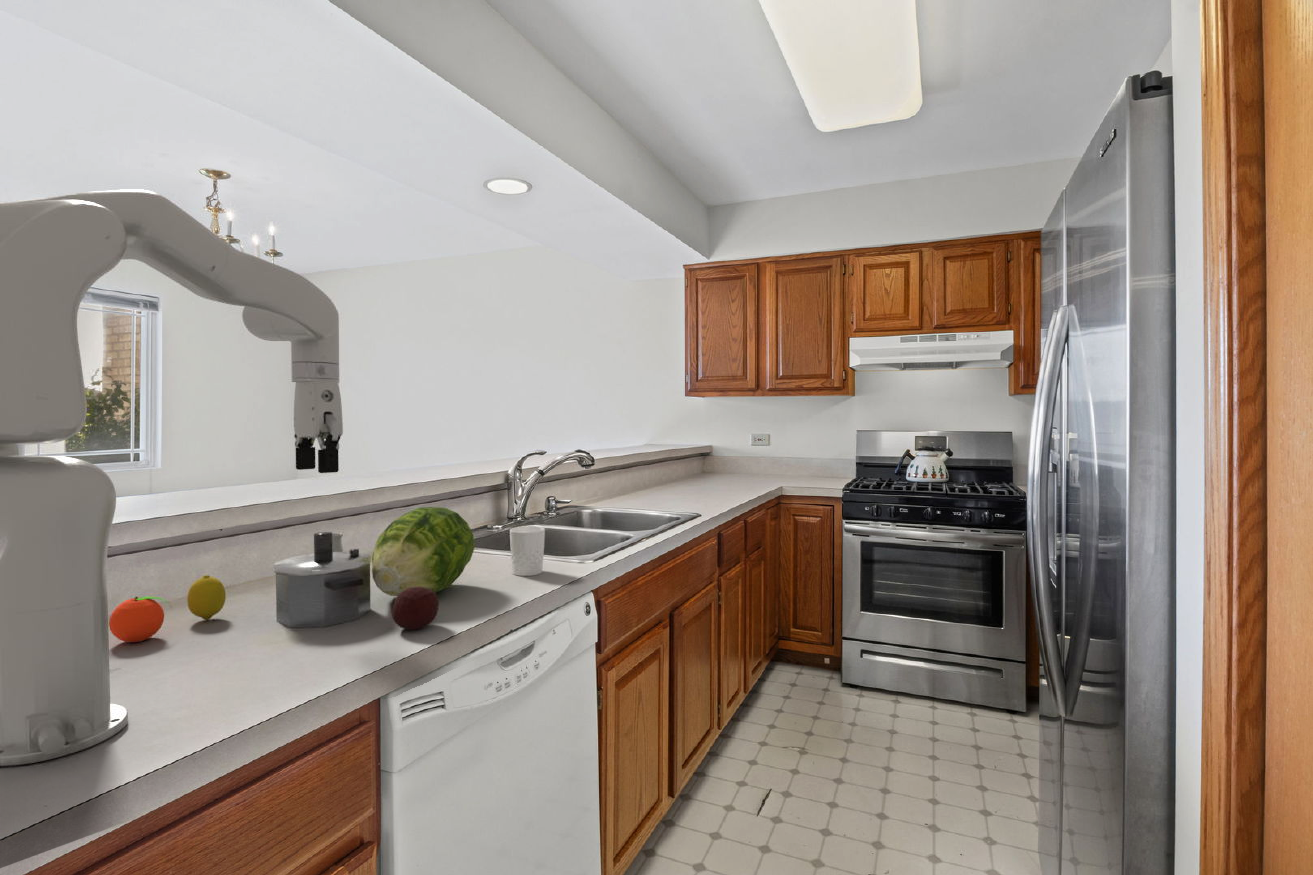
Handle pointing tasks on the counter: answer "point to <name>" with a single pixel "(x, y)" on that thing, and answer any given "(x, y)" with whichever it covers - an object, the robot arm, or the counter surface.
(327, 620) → the pot
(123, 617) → the clementine
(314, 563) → the lid
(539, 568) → the white cup
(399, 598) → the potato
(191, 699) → the counter surface
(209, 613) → the lemon
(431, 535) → the lettuce
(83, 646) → the robot arm
